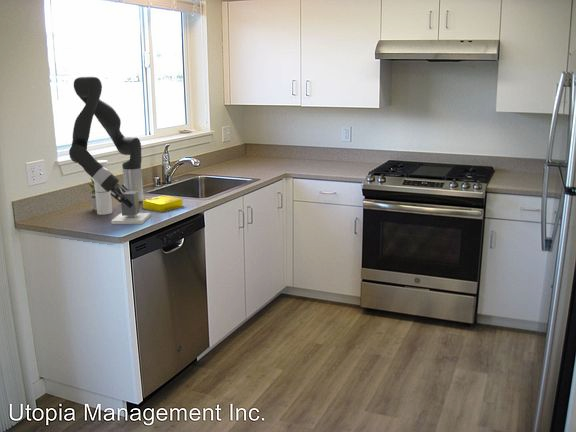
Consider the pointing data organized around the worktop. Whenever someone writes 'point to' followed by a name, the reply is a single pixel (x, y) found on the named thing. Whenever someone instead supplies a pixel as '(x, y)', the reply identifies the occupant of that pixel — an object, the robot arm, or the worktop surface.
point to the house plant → (92, 193)
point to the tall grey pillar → (133, 198)
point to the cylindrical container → (103, 195)
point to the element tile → (162, 203)
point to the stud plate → (131, 219)
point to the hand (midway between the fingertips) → (133, 204)
